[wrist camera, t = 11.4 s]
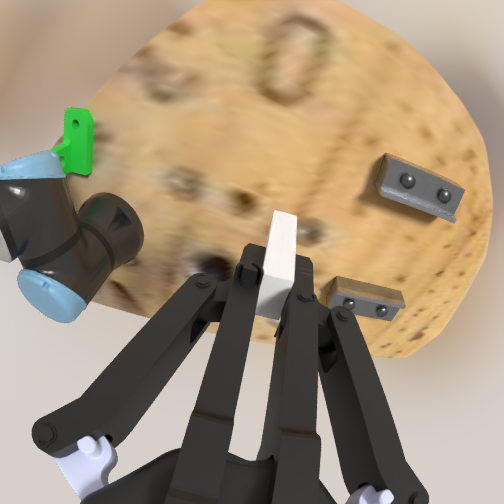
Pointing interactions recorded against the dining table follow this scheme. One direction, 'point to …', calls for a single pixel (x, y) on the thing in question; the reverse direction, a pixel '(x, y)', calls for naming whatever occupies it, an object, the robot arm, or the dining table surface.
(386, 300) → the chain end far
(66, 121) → the mechanical part
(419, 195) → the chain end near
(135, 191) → the dining table surface
